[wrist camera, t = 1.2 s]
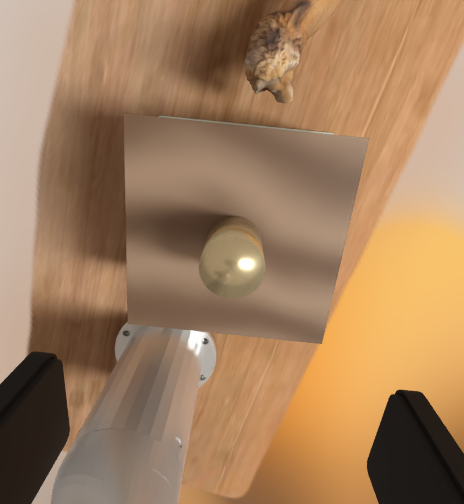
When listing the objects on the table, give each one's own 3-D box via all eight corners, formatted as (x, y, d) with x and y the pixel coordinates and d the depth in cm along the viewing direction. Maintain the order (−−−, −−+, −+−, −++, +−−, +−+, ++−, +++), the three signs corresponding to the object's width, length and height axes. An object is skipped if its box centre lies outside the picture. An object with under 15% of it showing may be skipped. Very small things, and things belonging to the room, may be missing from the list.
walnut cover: (300, 286, 37) (338, 388, 22) (159, 272, 37) (103, 364, 22) (329, 136, 31) (404, 140, 16) (161, 119, 31) (89, 107, 17)
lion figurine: (273, 117, 31) (285, 112, 23) (230, 80, 30) (224, 60, 22) (388, -35, 27) (454, -111, 18) (341, -85, 26) (388, -189, 17)
